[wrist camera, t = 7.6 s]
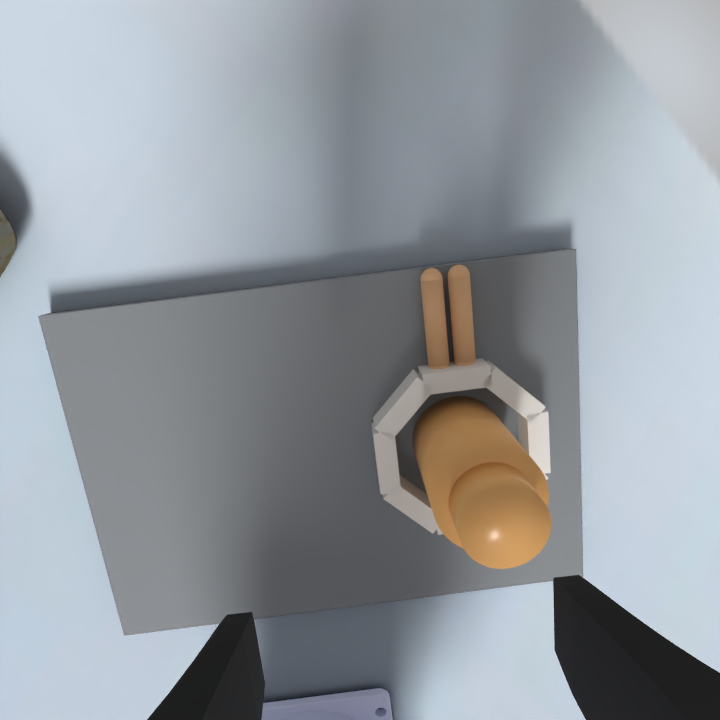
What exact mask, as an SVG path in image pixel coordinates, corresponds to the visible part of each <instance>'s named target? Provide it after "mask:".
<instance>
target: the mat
mask: <svg viewBox="0 0 720 720" xmlns="http://www.w3.org/2000/svg"><path fill="white" fill-rule="evenodd" d="M38 317H39V321H40V325H41V328H42V332H43V336H44V339H45V343H46V347H47V351H48V354H49V358H50V362H51V365H52V369H53V373H54V377H55V380H56V384H57V388H58V391H59V395H60V399H61V403H62V406H63V410H64V414H65V417H66V421H67V425H68V429H69V432H70V436H71V440H72V443H73V447H74V451H75V454H76V458H77V462H78V466H79V469H80V473H81V477H82V480H83V484H84V488H85V492H86V495H87V499H88V503H89V506H90V510H91V514H92V518H93V521H94V525H95V529H96V532H97V536H98V540H99V544H100V547H101V551H102V555H103V558H104V562H105V566H106V570H107V573H108V577H109V581H110V584H111V588H112V592H113V596H114V599H115V603H116V607H117V610H118V614H119V618H120V622H121V625H122V629H123V633H124V636H125V635H133V634H140V633H148V632H156V631H164V630H172V629H180V628H187V627H195V626H203V625H211V624H219V623H221V621H222V620H223V619H224V617H225V616H226V615H228V614H237V613H246V612H252V613H253V618H254V619H258V618H266V617H273V616H281V615H289V614H297V613H305V612H313V611H320V610H328V609H336V608H344V607H352V606H360V605H367V604H375V603H383V602H391V601H399V600H406V599H414V598H422V597H430V596H438V595H446V594H453V593H461V592H469V591H477V590H485V589H493V588H500V587H508V586H516V585H524V584H532V583H539V582H547V581H553V578H555V577H564V576H573V575H580V576H581V577H583V543H582V498H581V452H580V407H579V361H578V316H577V270H576V249H560V250H552V251H544V252H536V253H528V254H520V255H512V256H504V257H496V258H488V259H480V260H472V261H464V262H456V263H447V264H439V265H431V266H423V267H415V268H407V269H399V270H391V271H383V272H375V273H367V274H359V275H351V276H343V277H335V278H327V279H319V280H311V281H303V282H295V283H287V284H279V285H271V286H263V287H255V288H247V289H239V290H231V291H223V292H215V293H207V294H199V295H191V296H183V297H175V298H167V299H159V300H151V301H143V302H135V303H127V304H119V305H111V306H103V307H95V308H87V309H79V310H70V311H62V312H54V313H48V314H45V315H41V316H38ZM453 396H466V397H471V398H474V399H477V400H479V401H481V402H483V403H484V404H486V405H487V406H488V407H490V408H491V409H492V411H493V412H494V413H495V414H496V415H497V417H498V418H499V419H500V420H501V422H502V423H503V424H504V425H505V426H506V428H507V429H508V430H509V431H510V432H511V434H512V435H513V436H514V437H515V439H516V440H517V441H518V442H519V443H520V445H521V446H522V447H523V448H524V449H525V451H526V452H527V453H528V454H529V456H530V457H531V458H532V459H533V460H534V462H535V463H536V464H537V465H538V467H539V468H540V469H541V471H542V472H543V474H544V476H545V478H546V481H547V485H548V490H549V502H548V510H549V512H550V516H551V532H550V536H549V539H548V541H547V543H546V545H545V546H544V548H543V549H542V550H541V551H540V553H539V554H537V555H536V556H535V557H534V558H533V559H531V560H530V561H528V562H526V563H525V564H522V565H520V566H517V567H513V568H508V569H495V568H490V567H486V566H484V565H481V564H479V563H478V562H476V561H474V560H473V559H472V558H471V557H470V556H469V555H468V554H467V553H466V551H465V550H464V549H463V548H461V547H459V546H457V545H456V544H454V543H452V542H451V541H450V540H449V539H448V538H447V537H446V536H445V535H444V534H443V533H442V531H441V530H440V529H439V527H438V525H437V523H436V520H435V517H434V514H433V511H432V508H431V505H430V501H429V498H428V495H427V492H426V488H425V485H424V482H423V479H422V475H421V472H420V469H419V466H418V463H417V459H416V456H415V453H414V450H413V441H412V438H413V431H414V428H415V425H416V423H417V421H418V419H419V417H420V416H421V415H422V413H423V412H424V411H425V410H426V409H427V408H428V407H430V406H431V405H432V404H434V403H436V402H437V401H439V400H442V399H445V398H448V397H453Z"/></svg>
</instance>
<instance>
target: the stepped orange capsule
mask: <svg viewBox="0 0 720 720" xmlns="http://www.w3.org/2000/svg"><path fill="white" fill-rule="evenodd" d="M412 441H413V450H414V453H415V456H416V459H417V463H418V466H419V469H420V472H421V475H422V479H423V482H424V485H425V488H426V492H427V495H428V498H429V501H430V505H431V508H432V511H433V514H434V517H435V520H436V523H437V525H438V527H439V529H440V530H441V531H442V533H443V534H444V535H445V536H446V537H447V538H448V539H449V540H450V541H451V542H452V543H454V544H456V545H457V546H459V547H461V548H463V549H464V550H465V551H466V553H467V554H468V555H469V556H470V557H471V558H472V559H473V560H474V561H476V562H478V563H479V564H481V565H484V566H486V567H490V568H495V569H508V568H513V567H517V566H520V565H522V564H525V563H526V562H528V561H530V560H531V559H533V558H534V557H535V556H536V555H537V554H539V553H540V551H541V550H542V549H543V548H544V546H545V545H546V543H547V541H548V539H549V536H550V532H551V516H550V512H549V510H548V502H549V490H548V485H547V481H546V478H545V476H544V474H543V472H542V471H541V469H540V468H539V467H538V465H537V464H536V463H535V462H534V460H533V459H532V458H531V457H530V456H529V454H528V453H527V452H526V451H525V449H524V448H523V447H522V446H521V445H520V443H519V442H518V441H517V440H516V439H515V437H514V436H513V435H512V434H511V432H510V431H509V430H508V429H507V428H506V426H505V425H504V424H503V423H502V422H501V420H500V419H499V418H498V417H497V415H496V414H495V413H494V412H493V411H492V409H491V408H490V407H488V406H487V405H486V404H484V403H483V402H481V401H479V400H477V399H474V398H471V397H466V396H453V397H448V398H445V399H442V400H439V401H437V402H436V403H434V404H432V405H431V406H430V407H428V408H427V409H426V410H425V411H424V412H423V413H422V415H421V416H420V417H419V419H418V421H417V423H416V425H415V428H414V431H413V438H412Z"/></svg>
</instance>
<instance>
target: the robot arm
mask: <svg viewBox="0 0 720 720" xmlns="http://www.w3.org/2000/svg"><path fill="white" fill-rule="evenodd" d="M553 584H554V635H555V652H556V654H557V657H558V660H559V662H560V665H561V667H562V670H563V672H564V675H565V677H566V680H567V682H568V684H569V687H570V689H571V692H572V694H573V696H574V698H575V700H576V702H577V704H578V706H579V708H580V709H581V711H582V713H583V715H584V717H585V719H586V720H720V673H719V672H717V671H716V670H714V669H712V668H711V667H709V666H707V665H706V664H704V663H702V662H701V661H699V660H698V659H696V658H695V657H693V656H692V655H690V654H688V653H687V652H685V651H684V650H682V649H681V648H679V647H678V646H676V645H675V644H673V643H672V642H670V641H669V640H667V639H666V638H664V637H663V636H661V635H660V634H658V633H657V632H656V631H654V630H653V629H651V628H650V627H649V626H647V625H646V624H644V623H643V622H642V621H640V620H639V619H637V618H636V617H635V616H633V615H632V614H631V613H629V612H628V611H626V610H625V609H624V608H622V607H621V606H620V605H618V604H617V603H616V602H614V601H613V600H612V599H610V598H609V597H608V596H607V595H605V594H604V593H603V592H601V591H600V590H599V589H597V588H596V587H595V586H593V585H592V584H591V583H589V582H588V581H587V580H585V579H584V578H583V577H581V576H580V575H573V576H564V577H555V578H553ZM264 688H265V681H264V675H263V670H262V664H261V658H260V653H259V647H258V641H257V635H256V630H255V624H254V618H253V613H252V612H246V613H237V614H228V615H226V616H225V617H224V619H223V620H222V621H221V623H220V624H219V625H218V627H217V628H216V630H215V631H214V633H213V634H212V635H211V637H210V638H209V640H208V641H207V643H206V644H205V645H204V647H203V648H202V650H201V651H200V652H199V654H198V655H197V657H196V658H195V659H194V661H193V662H192V664H191V665H190V666H189V667H188V669H187V670H186V671H185V673H184V674H183V675H182V677H181V678H180V679H179V681H178V682H177V683H176V685H175V686H174V687H173V689H172V690H171V691H170V693H169V694H168V695H167V696H166V697H165V699H164V700H163V701H162V702H161V704H160V705H159V706H158V707H157V708H156V710H155V711H154V712H153V713H152V714H151V716H150V717H149V718H148V719H147V720H393V718H392V710H391V702H390V695H389V693H388V692H387V691H386V690H385V689H382V688H376V689H369V690H361V691H353V692H345V693H337V694H330V695H322V696H314V697H306V698H299V699H291V700H283V701H275V702H267V703H263V699H264ZM378 708H383V709H378Z"/></svg>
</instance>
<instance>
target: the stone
mask: <svg viewBox="0 0 720 720" xmlns="http://www.w3.org/2000/svg"><path fill="white" fill-rule="evenodd" d="M16 244H17V240H16V235H15V233H14V231H13V229H12V227H11V225H10V222H9V221H8V219H7V218H6V216H5V215H4V214H3V212H2V211H1V209H0V276H1V274H2V273H3V271H4V270H5V268H6V266H7V265H8V263H9V262H10V259H11V257H12V255H13V253H14V251H15V249H16Z"/></svg>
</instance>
